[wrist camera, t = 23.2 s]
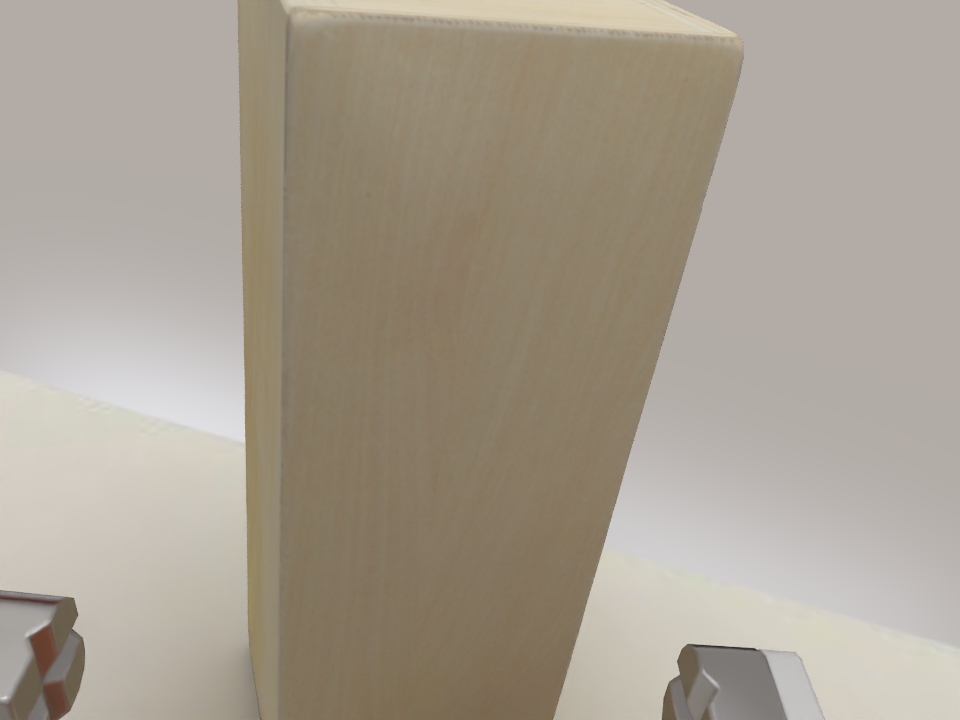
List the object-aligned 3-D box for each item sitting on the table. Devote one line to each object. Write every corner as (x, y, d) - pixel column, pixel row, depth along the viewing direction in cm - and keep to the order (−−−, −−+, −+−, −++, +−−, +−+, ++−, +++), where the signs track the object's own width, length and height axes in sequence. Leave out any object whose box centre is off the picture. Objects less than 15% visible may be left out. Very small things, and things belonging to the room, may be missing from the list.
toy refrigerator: (470, 580, 31) (578, -47, 20) (548, 764, 26) (762, 38, 14) (245, 620, 29) (221, -78, 17) (277, 836, 23) (273, 10, 12)
